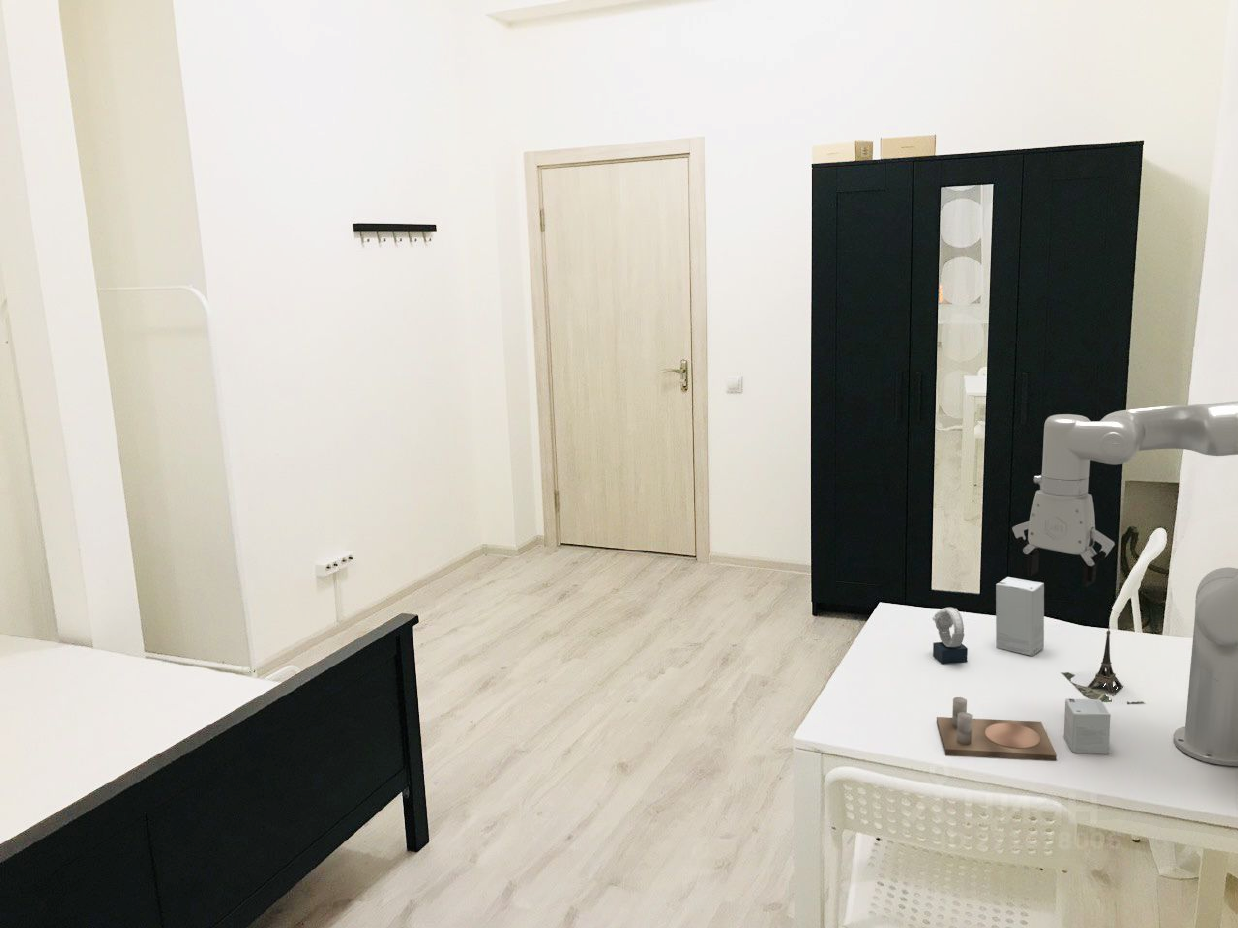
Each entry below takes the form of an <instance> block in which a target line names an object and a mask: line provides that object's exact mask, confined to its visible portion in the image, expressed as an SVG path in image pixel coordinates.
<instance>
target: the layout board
mask: <svg viewBox="0 0 1238 928" xmlns="http://www.w3.org/2000/svg"><path fill="white" fill-rule="evenodd" d="M967 710H968V699H967V698H965V697H962V696H956V697H953V698H952V717H948V716H947V717H944V716H943V717H941V716H936V725H937V729H938V732H939V736H940V737H939V738H940V740H941V744H942V748H943V751H944V755H945V756H946V755H947V756H965V757H969V756H970V757H988V758H1002V759H1003V758H1004V759H1005V758H1007V759H1022V760H1023V759H1024V760H1042V761H1043V760H1044V761H1057V760H1058V759H1057V758H1058V755H1057V752H1056V750H1055V748H1054V746H1053V743H1052V742H1051V739H1050V737H1049V735H1048V733H1047V731H1046V730H1045V727H1044V725H1043V723H1042V721H1033V720H1032V721H1031V720H1013V719H1012V720H1011V719H1008V720H1007V719H988V718H986V719H985V718H973V714H972V713H969V712H967Z"/></svg>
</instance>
